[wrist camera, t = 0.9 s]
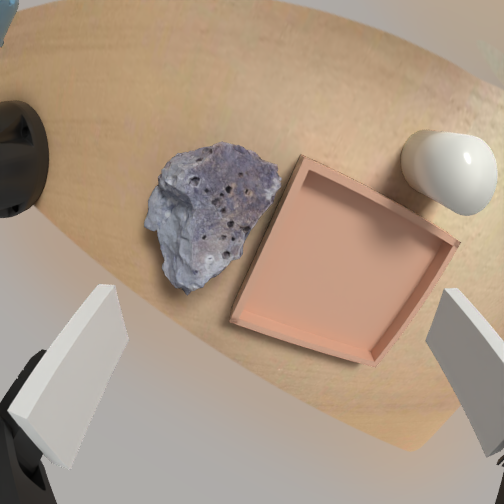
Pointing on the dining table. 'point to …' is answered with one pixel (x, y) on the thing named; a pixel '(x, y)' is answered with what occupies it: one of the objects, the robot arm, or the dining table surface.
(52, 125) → the dining table surface
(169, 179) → the rock
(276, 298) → the dish
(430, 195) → the white rounded cylinder
